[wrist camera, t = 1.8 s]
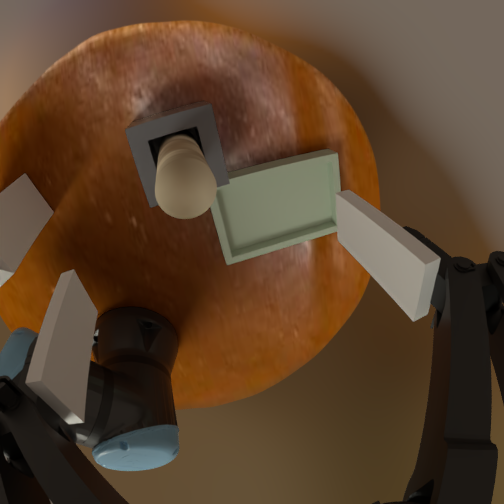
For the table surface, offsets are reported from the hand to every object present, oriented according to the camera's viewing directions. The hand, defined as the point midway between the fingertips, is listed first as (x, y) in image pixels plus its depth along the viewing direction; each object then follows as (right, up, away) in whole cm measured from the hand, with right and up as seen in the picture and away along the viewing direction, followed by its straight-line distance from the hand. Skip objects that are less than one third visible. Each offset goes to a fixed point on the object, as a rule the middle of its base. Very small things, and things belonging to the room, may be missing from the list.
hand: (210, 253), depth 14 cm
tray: (+5, +7, +29) cm, 31 cm away
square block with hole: (-7, +13, +22) cm, 27 cm away
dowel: (-7, +13, +21) cm, 26 cm away
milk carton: (-29, +6, +20) cm, 36 cm away
